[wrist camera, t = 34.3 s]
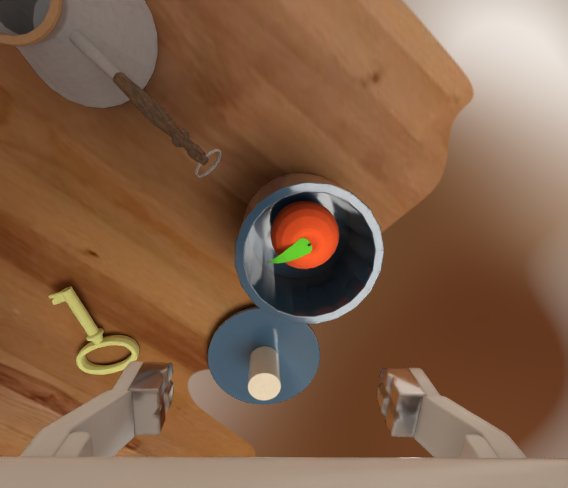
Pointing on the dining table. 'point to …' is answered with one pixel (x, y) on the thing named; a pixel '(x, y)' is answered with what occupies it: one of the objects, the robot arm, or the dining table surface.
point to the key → (95, 336)
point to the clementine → (304, 235)
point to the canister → (314, 281)
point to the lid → (262, 357)
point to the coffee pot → (94, 55)
